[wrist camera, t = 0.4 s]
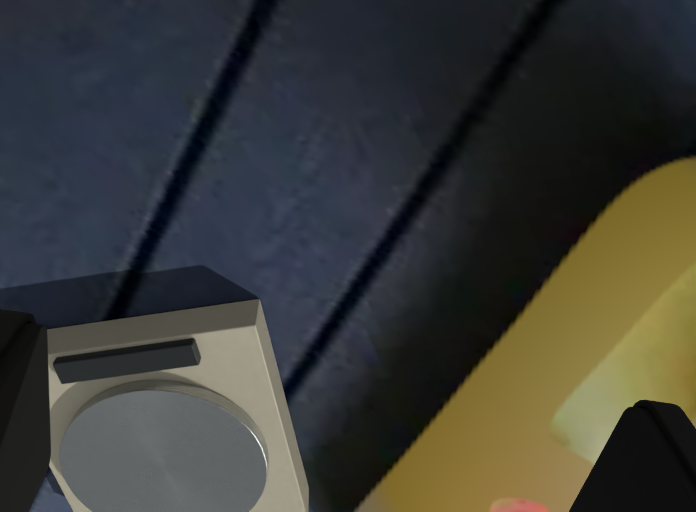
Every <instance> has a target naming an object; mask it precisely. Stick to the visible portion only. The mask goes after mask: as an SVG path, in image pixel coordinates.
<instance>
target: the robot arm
mask: <svg viewBox="0 0 696 512" xmlns="http://www.w3.org/2000/svg"><path fill="white" fill-rule="evenodd" d="M50 458H51V433H50V401H49V370H48V338H47V329H46V326H44V325H38V324H36V320H35V317H34V315H32V314H30V313H23V312H16V311H9V310H2V309H0V512H29V510H30V508H31V505H32V503H33V501H34V499H35V497H36V495H37V493H38V491H39V489H40V487H41V484H42V482H43V480H44V478H45V476H46V473H47V470H48V467H49V463H50ZM569 512H696V429H695V427H694V426H693V424H692V423H691V421H690V420H689V419H688V417H687V416H686V414H685V413H684V411H683V410H682V409H681V408H680V407H679V406H677V405H675V404H670V403H663V402H656V401H649V400H640V401H638V402H636V403H635V405H634V406H633V407H629V408H627V409H626V410H625V411H624V412H623V414H622V416H621V418H620V419H619V421H618V423H617V425H616V427H615V429H614V430H613V432H612V434H611V436H610V438H609V439H608V441H607V443H606V445H605V447H604V449H603V450H602V452H601V454H600V456H599V458H598V459H597V461H596V463H595V465H594V467H593V469H592V470H591V472H590V474H589V476H588V478H587V479H586V481H585V483H584V485H583V487H582V489H581V490H580V492H579V494H578V496H577V498H576V500H575V501H574V503H573V505H572V507H571V509H570V511H569Z"/></svg>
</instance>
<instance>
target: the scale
mask: <svg viewBox="0 0 696 512" xmlns="http://www.w3.org/2000/svg"><path fill="white" fill-rule="evenodd" d="M47 338H48V370H49V401H50V433H51V458H50V463H49V467H50V468H51V470H52V472H53V474H54V476H55V478H56V480H57V482H58V484H59V485H60V487H61V489H62V491H63V493H64V495H65V497H66V499H67V501H68V502H69V504H70V506H71V508H72V510H73V512H308V500H309V487H308V483H307V479H306V475H305V472H304V468H303V464H302V460H301V456H300V452H299V448H298V444H297V441H296V437H295V433H294V429H293V425H292V421H291V417H290V414H289V410H288V406H287V402H286V398H285V394H284V390H283V387H282V383H281V379H280V375H279V371H278V367H277V363H276V360H275V356H274V352H273V348H272V344H271V340H270V336H269V332H268V329H267V325H266V321H265V317H264V313H263V309H262V305H261V302H260V299H255V300H248V301H241V302H234V303H227V304H220V305H213V306H207V307H200V308H193V309H186V310H179V311H172V312H165V313H158V314H151V315H144V316H137V317H130V318H123V319H116V320H109V321H102V322H95V323H88V324H82V325H75V326H68V327H61V328H54V329H47Z"/></svg>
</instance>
